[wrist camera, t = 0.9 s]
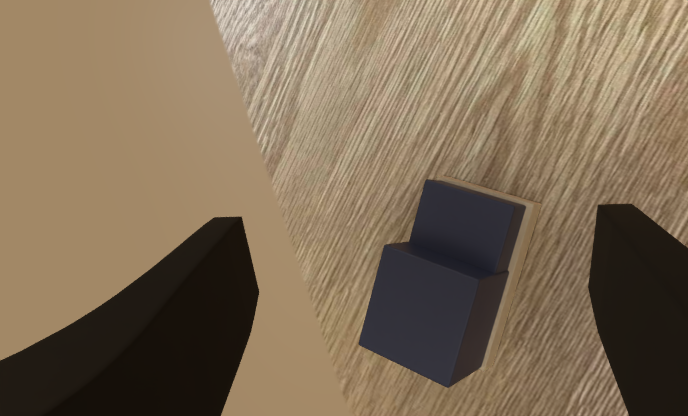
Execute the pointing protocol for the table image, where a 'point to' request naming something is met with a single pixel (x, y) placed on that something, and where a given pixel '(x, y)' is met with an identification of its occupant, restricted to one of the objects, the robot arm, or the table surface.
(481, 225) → the dark stepped block
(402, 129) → the table surface
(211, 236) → the robot arm
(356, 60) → the table surface
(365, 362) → the table surface
